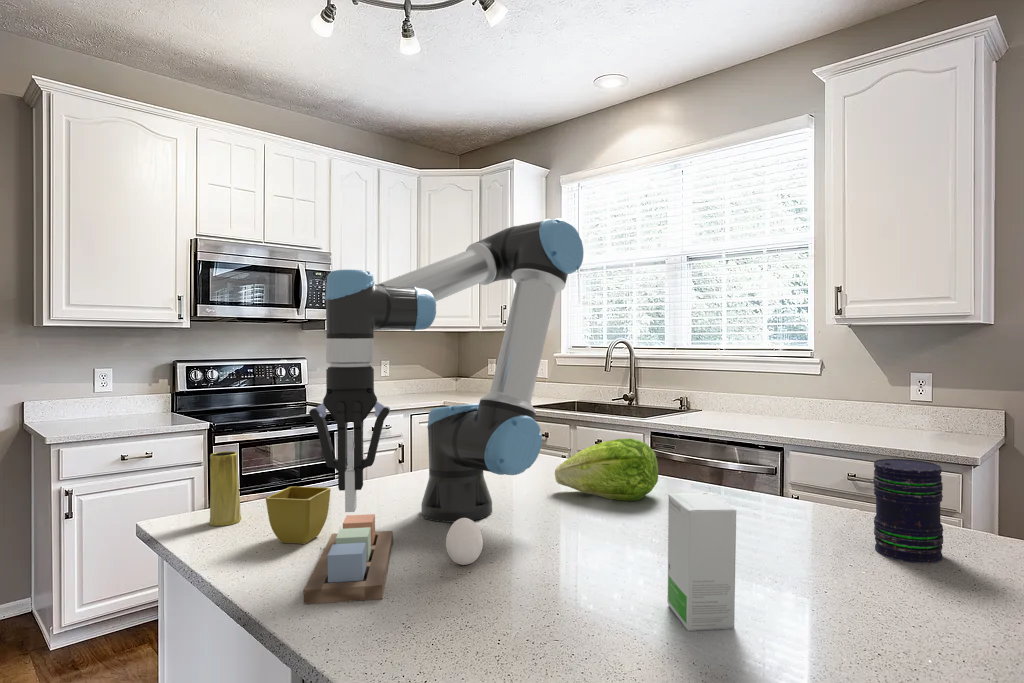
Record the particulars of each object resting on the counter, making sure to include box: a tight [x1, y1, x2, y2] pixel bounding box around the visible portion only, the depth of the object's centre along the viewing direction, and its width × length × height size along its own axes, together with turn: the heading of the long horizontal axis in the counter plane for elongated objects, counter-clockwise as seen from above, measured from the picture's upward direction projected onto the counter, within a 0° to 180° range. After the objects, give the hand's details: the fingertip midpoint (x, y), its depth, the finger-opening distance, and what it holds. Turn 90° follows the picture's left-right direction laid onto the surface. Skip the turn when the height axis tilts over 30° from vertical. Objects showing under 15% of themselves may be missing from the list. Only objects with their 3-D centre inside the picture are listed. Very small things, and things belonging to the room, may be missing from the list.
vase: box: [208, 450, 242, 527], centre depth 131 cm, size 6×6×14 cm
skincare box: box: [666, 491, 737, 632], centre depth 83 cm, size 8×7×16 cm
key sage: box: [336, 527, 371, 562], centre depth 103 cm, size 5×5×4 cm
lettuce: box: [554, 438, 659, 502], centre depth 147 cm, size 14×24×15 cm
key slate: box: [327, 543, 366, 583], centre depth 95 cm, size 5×5×4 cm
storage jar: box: [872, 458, 944, 565], centre depth 106 cm, size 10×10×15 cm
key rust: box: [342, 513, 376, 545], centre depth 111 cm, size 5×5×4 cm
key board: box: [302, 530, 394, 605], centre depth 103 cm, size 11×26×2 cm, turn 7°
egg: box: [445, 518, 484, 566], centre depth 104 cm, size 6×6×8 cm
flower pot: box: [265, 485, 331, 545], centre depth 118 cm, size 9×9×9 cm
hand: (350, 509), depth 103 cm, fingers closed
